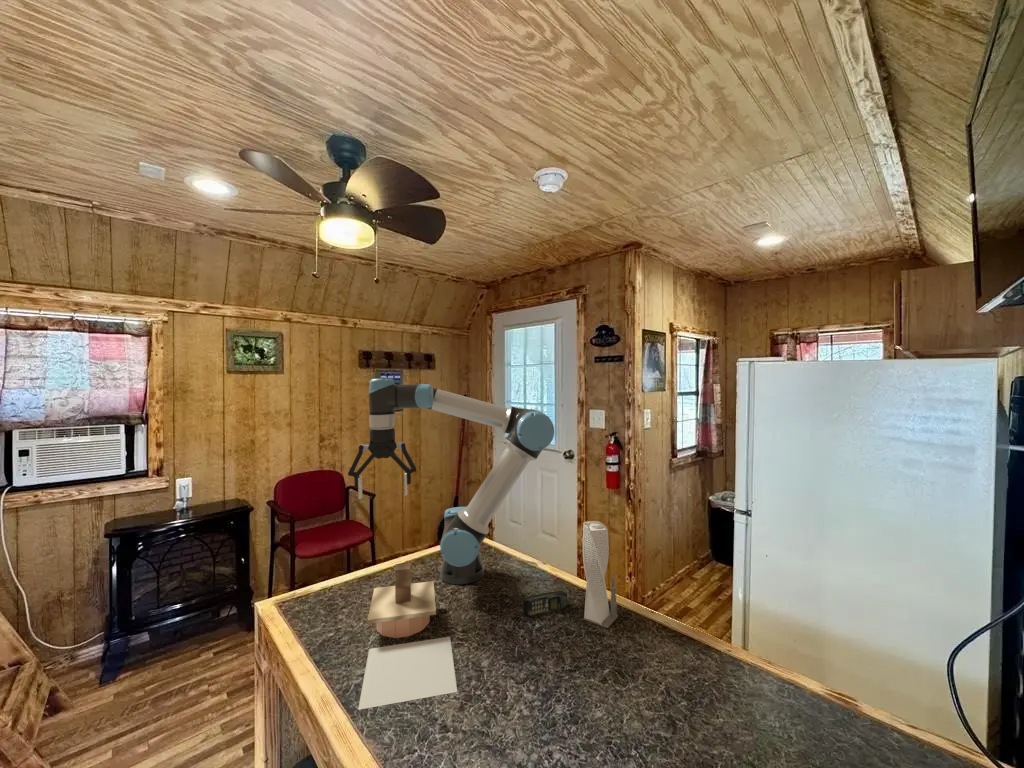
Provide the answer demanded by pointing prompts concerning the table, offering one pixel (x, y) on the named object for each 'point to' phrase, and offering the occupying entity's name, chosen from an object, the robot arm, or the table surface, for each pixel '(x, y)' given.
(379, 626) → the bowl
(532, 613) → the mobile phone
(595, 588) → the skyscraper
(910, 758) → the table surface
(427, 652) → the mat
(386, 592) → the board
